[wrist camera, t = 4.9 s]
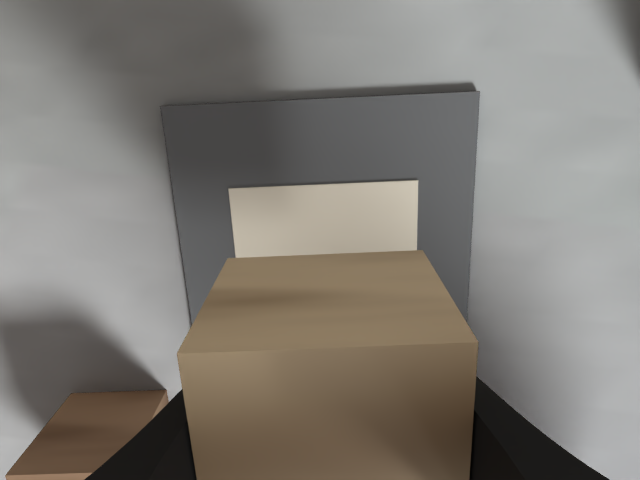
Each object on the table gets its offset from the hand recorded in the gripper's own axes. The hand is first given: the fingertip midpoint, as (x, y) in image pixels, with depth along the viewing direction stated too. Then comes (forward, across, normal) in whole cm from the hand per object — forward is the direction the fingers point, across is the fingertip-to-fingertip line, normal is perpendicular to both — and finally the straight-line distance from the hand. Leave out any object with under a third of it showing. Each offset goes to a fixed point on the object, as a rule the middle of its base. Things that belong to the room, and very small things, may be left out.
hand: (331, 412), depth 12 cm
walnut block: (+9, +10, +8) cm, 16 cm away
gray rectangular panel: (+9, 0, 0) cm, 9 cm away
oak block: (+3, 0, 0) cm, 3 cm away
